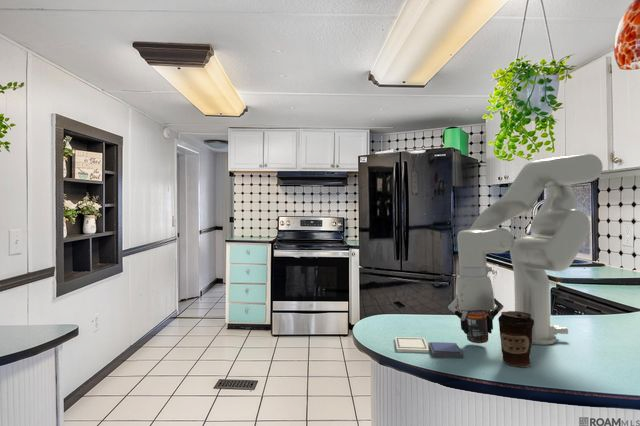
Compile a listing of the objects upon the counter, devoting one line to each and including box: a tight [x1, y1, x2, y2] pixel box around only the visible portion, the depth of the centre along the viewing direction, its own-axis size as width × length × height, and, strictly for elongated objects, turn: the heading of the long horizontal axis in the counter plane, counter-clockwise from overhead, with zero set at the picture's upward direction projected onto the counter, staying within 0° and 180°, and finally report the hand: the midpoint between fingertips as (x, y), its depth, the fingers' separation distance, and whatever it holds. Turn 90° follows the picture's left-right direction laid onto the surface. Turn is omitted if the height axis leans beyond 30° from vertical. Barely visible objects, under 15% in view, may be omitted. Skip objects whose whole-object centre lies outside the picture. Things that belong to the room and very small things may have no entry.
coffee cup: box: [497, 310, 534, 368], centre depth 95 cm, size 9×8×13 cm
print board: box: [394, 336, 430, 354], centre depth 109 cm, size 9×10×1 cm
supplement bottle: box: [466, 310, 489, 344], centre depth 108 cm, size 6×6×11 cm
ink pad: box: [427, 341, 464, 359], centre depth 104 cm, size 8×8×2 cm
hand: (477, 331), depth 108 cm, fingers closed on supplement bottle, 6 cm apart
